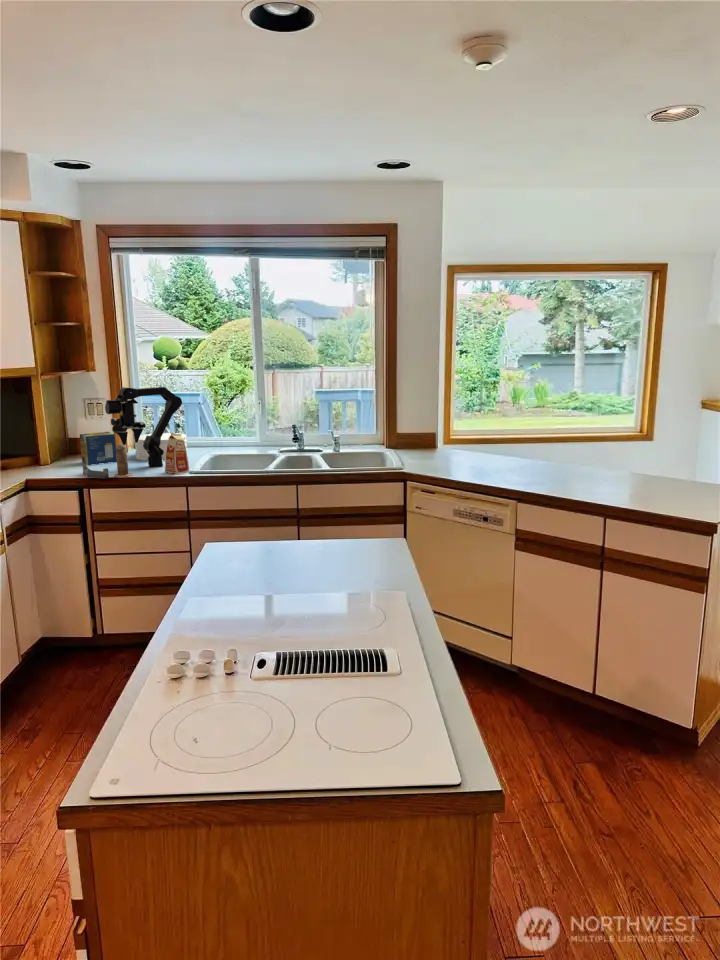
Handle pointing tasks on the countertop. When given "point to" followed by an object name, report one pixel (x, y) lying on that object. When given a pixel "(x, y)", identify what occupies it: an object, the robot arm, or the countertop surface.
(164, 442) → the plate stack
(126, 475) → the trivet
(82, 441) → the protein box
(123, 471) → the pepper mill
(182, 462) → the milk carton
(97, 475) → the gray curved bracket
